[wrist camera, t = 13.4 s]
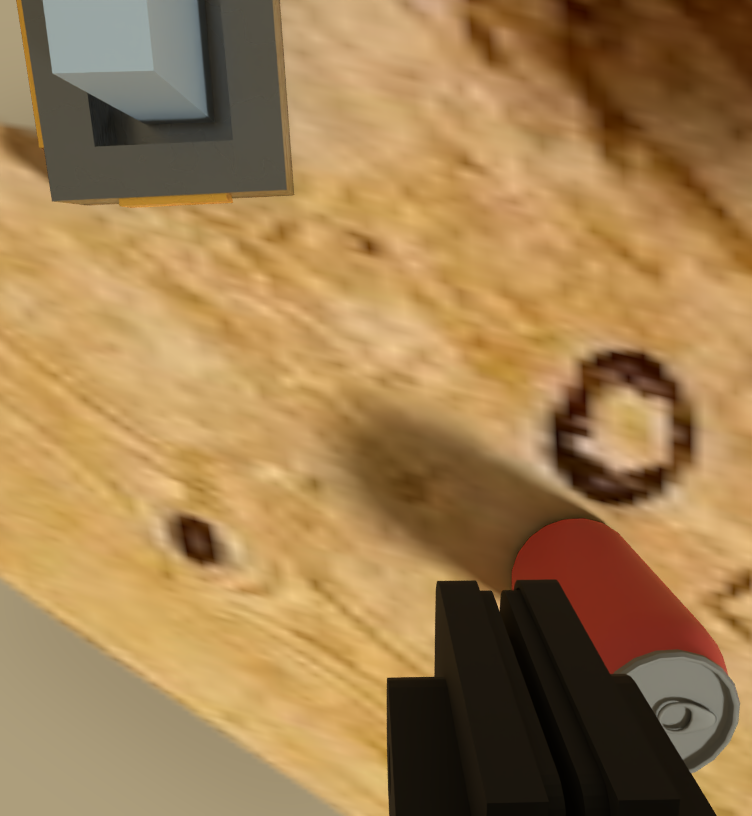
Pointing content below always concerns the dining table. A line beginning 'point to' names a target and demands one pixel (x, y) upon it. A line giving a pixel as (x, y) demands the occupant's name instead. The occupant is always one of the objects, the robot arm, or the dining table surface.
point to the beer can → (639, 632)
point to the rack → (171, 143)
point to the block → (135, 55)
